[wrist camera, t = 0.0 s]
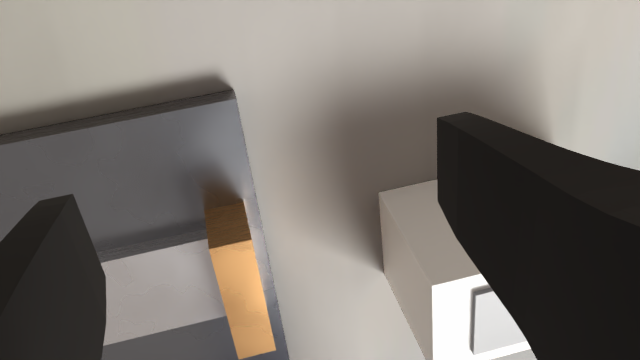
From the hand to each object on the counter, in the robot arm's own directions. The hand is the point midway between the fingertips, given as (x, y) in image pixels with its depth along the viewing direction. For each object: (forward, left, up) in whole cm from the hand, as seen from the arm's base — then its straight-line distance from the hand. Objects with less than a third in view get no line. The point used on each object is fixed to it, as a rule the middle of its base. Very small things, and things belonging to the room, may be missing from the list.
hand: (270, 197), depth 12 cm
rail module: (-10, -9, -10) cm, 17 cm away
